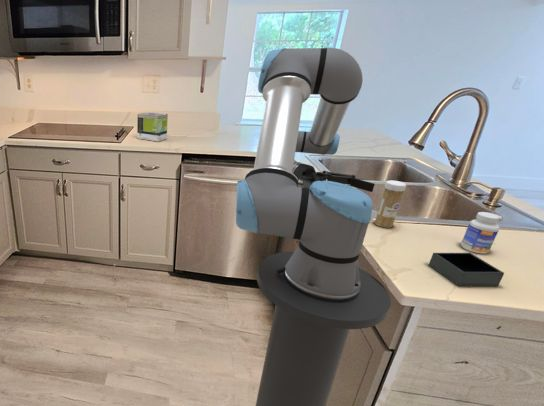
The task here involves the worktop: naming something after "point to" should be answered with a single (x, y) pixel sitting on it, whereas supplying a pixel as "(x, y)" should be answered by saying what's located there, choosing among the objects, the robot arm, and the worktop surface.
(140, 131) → the tea box
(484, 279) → the dark gray tray
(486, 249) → the pill bottle
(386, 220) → the sprinkles bottle
